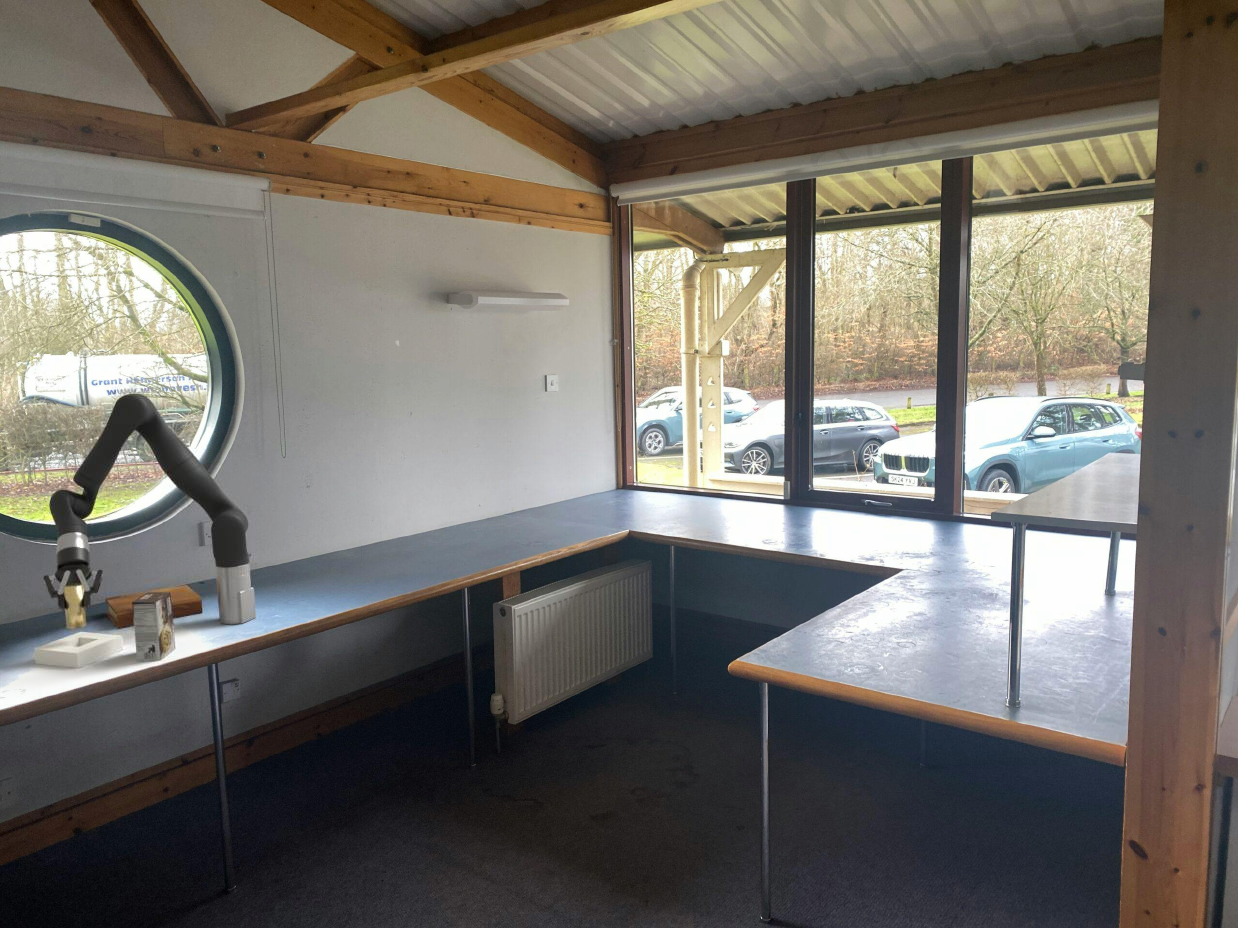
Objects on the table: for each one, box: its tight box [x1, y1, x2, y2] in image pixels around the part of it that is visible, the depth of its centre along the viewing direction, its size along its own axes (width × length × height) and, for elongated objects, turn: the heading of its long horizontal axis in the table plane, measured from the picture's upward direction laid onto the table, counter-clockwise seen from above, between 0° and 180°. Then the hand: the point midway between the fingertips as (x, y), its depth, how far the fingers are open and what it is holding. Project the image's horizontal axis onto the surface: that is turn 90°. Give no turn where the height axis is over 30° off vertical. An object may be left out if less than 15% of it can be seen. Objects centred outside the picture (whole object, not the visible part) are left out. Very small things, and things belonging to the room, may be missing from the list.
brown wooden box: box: [105, 584, 203, 630], centre depth 266 cm, size 23×19×6 cm
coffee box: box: [132, 592, 176, 662], centre depth 229 cm, size 9×6×16 cm
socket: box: [33, 631, 124, 669], centre depth 229 cm, size 14×14×4 cm
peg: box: [63, 584, 87, 630], centre depth 228 cm, size 4×4×11 cm
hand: (74, 607), depth 226 cm, fingers closed on peg, 4 cm apart
